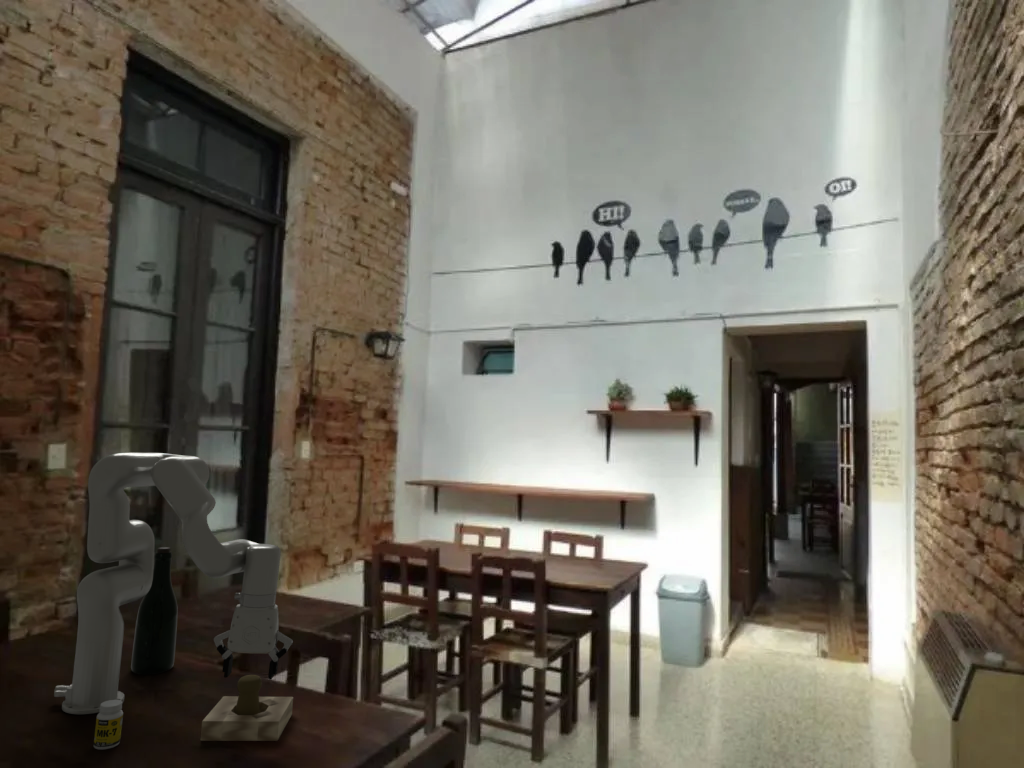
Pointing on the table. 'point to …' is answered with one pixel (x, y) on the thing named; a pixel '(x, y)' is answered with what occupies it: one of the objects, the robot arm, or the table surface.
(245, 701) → the cork
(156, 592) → the wine bottle
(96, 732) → the supplement bottle
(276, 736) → the jig
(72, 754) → the table surface
